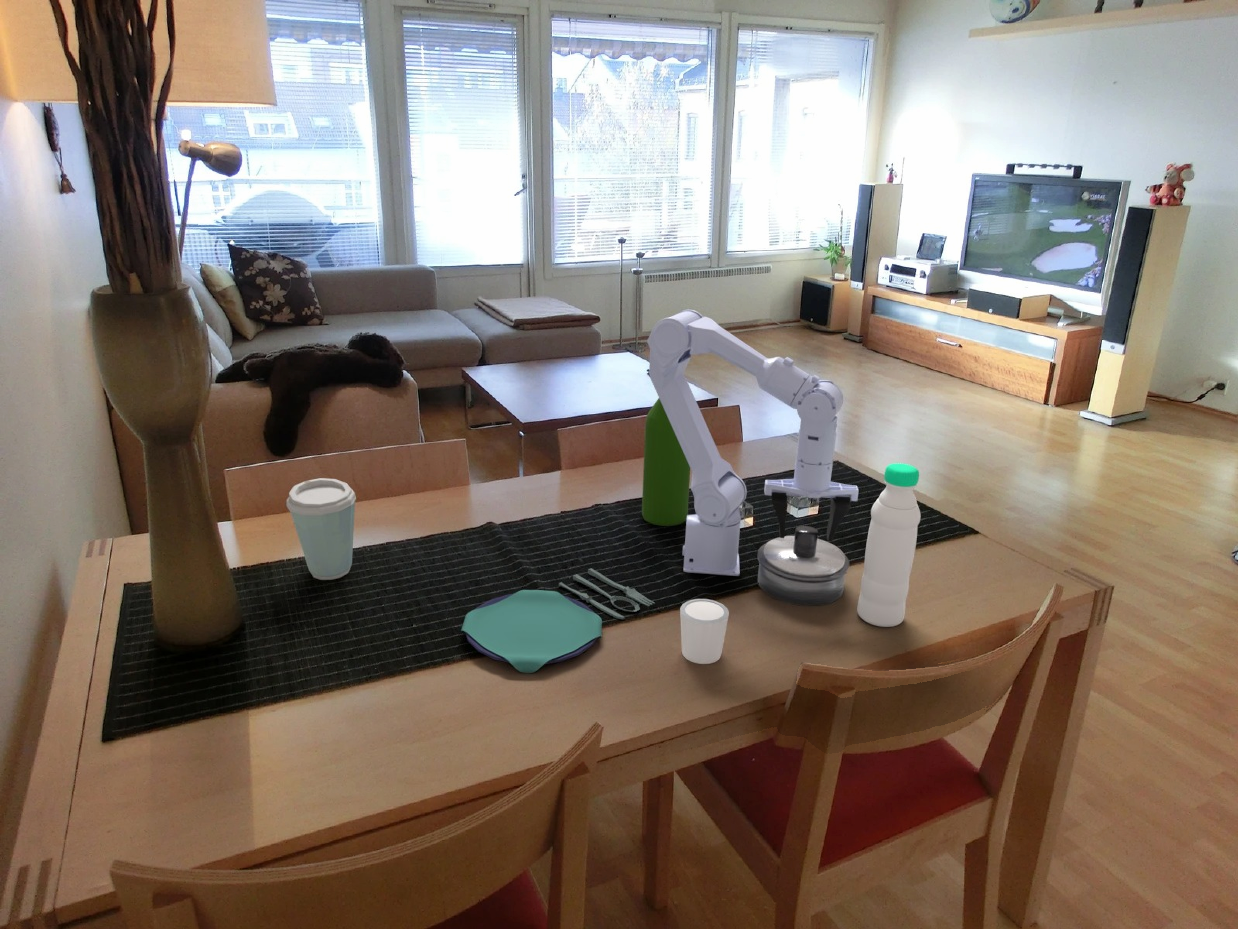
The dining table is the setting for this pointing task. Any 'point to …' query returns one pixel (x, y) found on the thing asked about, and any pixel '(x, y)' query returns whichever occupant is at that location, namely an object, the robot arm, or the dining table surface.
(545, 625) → the cutlery set
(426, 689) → the dining table surface
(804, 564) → the steel lid
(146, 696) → the dining table surface
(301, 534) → the disposable coffee cup
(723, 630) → the white cup
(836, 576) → the cooking pot
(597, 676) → the dining table surface
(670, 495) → the wine bottle
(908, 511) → the water bottle
